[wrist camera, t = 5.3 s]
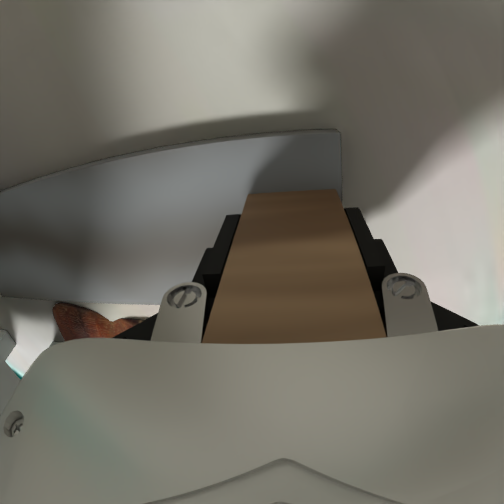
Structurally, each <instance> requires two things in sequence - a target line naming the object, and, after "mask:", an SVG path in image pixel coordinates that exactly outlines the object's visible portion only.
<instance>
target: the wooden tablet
mask: <svg viewBox="0 0 504 504" xmlns="http://www.w3.org/2000/svg"><path fill="white" fill-rule="evenodd" d="M53 315H54V318H55V320H56V323H57V325H58V327H59V330H60V332H61V334H62V336H63V338H64V340H65V341H69V340H74V339H82V338H113V337H114V336H116V335H118V334H120V333H122V332H123V331H125V330H127V329H129V328H131V327H133V326H135V325H137V324H138V323H140V322H142V321H143V320H135V319H118V320H116V321H114V322H112V321H109V320H108V319H106V318H105V317H103V316H102V315H100V314H98V313H97V312H94V311H92V310H90V309H87V308H84V307H80V306H77V305H73V304H68V303H60V302H59V303H57V304H55V306H54V307H53Z"/></svg>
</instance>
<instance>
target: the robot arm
mask: <svg viewBox="0 0 504 504" xmlns="http://www.w3.org/2000/svg"><path fill="white" fill-rule="evenodd" d="M344 211H345V213H346V216H347V218H348V221H349V224H350V226H351V229H352V232H353V234H354V237H355V240H356V243H357V245H358V248H359V251H360V254H361V257H362V259H363V262H364V265H365V268H366V271H367V274H368V277H369V280H370V283H371V286H372V290H373V293H374V296H375V299H376V302H377V306H378V309H379V312H380V316H381V319H382V323H383V326H384V330H385V333H386V337H385V338H374V339H362V340H349V341H334V342H315V343H286V344H211V343H202V340H203V337H204V334H205V330H206V327H207V324H208V320H209V317H210V314H211V310H212V307H213V304H214V301H215V297H216V294H217V291H218V287H219V284H220V281H221V278H222V274H223V271H224V268H225V265H226V262H227V258H228V255H229V252H230V249H231V246H232V242H233V239H234V236H235V233H236V230H237V227H238V224H239V220H240V217H241V214H233V215H226V217H225V220H224V222H223V224H222V227H221V229H220V232H219V234H218V236H217V239H216V241H215V244H214V246H213V248H207V249H206V250H205V252H204V254H203V257H202V259H201V261H200V264H199V266H198V268H197V271H196V273H195V275H194V277H193V280H192V282H186V283H181V284H178V285H176V286H174V287H172V288H171V289H169V290H168V291H167V292H166V293H165V294H164V296H163V298H162V301H161V305H160V308H159V312H158V313H157V314H155V315H153V316H152V317H150V318H148V319H146V320H144V321H142V322H140V323H138V324H137V325H135V326H133V327H131V328H129V329H127V330H125V331H123V332H122V333H120V334H118V335H116V336H114V337H113V338H82V339H74V340H69V341H65V342H61V343H58V344H55V345H53V346H51V347H49V348H47V349H46V350H44V351H43V352H42V353H41V354H40V355H39V356H38V357H37V359H36V360H35V361H34V362H33V364H32V365H31V366H30V368H29V369H28V370H27V372H26V373H25V375H24V376H23V378H22V379H21V381H20V382H19V384H18V385H17V387H16V389H15V391H14V392H13V394H12V396H11V398H10V399H9V401H8V403H7V405H6V406H5V408H4V410H3V412H2V414H1V416H0V504H504V325H498V324H497V325H481V326H479V325H477V324H476V323H474V322H472V321H470V320H468V319H466V318H464V317H461V316H459V315H457V314H455V313H453V312H451V311H449V310H447V309H445V308H443V307H441V306H439V305H437V304H435V303H433V302H431V301H430V298H429V295H428V292H427V288H426V286H425V284H424V282H423V281H421V280H420V279H419V278H417V277H416V276H414V275H411V274H407V273H398V271H397V269H396V267H395V265H394V263H393V261H392V259H391V257H390V255H389V252H388V250H387V248H386V246H385V244H384V242H383V241H382V239H373V237H372V235H371V232H370V230H369V228H368V226H367V224H366V222H365V220H364V218H363V216H362V214H361V212H360V210H359V208H344Z"/></svg>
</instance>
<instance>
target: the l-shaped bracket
mask: <svg viewBox="0 0 504 504" xmlns="http://www.w3.org/2000/svg"><path fill="white" fill-rule="evenodd" d="M233 214H241V217H240V220H239V224H238V227H237V230H236V233H235V236H234V239H233V242H232V246H231V249H230V252H229V255H228V258H227V262H226V265H225V268H224V271H223V274H222V278H221V281H220V284H219V287H218V291H217V294H216V297H215V301H214V304H213V307H212V310H211V314H210V317H209V320H208V324H207V327H206V330H205V334H204V337H203V340H202V343H211V344H286V343H315V342H334V341H349V340H362V339H374V338H385V337H386V333H385V330H384V326H383V323H382V319H381V316H380V312H379V309H378V306H377V302H376V299H375V296H374V293H373V290H372V286H371V283H370V280H369V277H368V274H367V271H366V268H365V265H364V262H363V259H362V257H361V254H360V251H359V248H358V245H357V243H356V240H355V237H354V234H353V232H352V229H351V226H350V224H349V221H348V218H347V216H346V213H345V211H344V208H343V206H342V163H341V137H340V132H339V131H338V130H337V129H321V130H300V131H284V132H271V133H260V134H249V135H240V136H231V137H223V138H216V139H208V140H201V141H195V142H188V143H182V144H176V145H170V146H165V147H159V148H154V149H149V150H144V151H139V152H134V153H130V154H125V155H121V156H116V157H112V158H108V159H104V160H100V161H96V162H92V163H88V164H84V165H80V166H77V167H73V168H70V169H66V170H63V171H59V172H56V173H53V174H49V175H46V176H43V177H40V178H37V179H34V180H31V181H28V182H25V183H22V184H19V185H16V186H13V187H10V188H8V189H5V190H2V191H0V293H1V295H2V296H4V297H15V298H27V299H40V300H54V301H70V302H89V303H112V304H146V305H161V301H162V298H163V296H164V294H165V293H166V292H167V291H168V290H169V289H171V288H172V287H174V286H176V285H178V284H181V283H186V282H192V280H193V277H194V275H195V273H196V271H197V268H198V266H199V264H200V261H201V259H202V257H203V254H204V252H205V250H206V249H207V248H213V246H214V244H215V241H216V239H217V236H218V234H219V232H220V229H221V227H222V224H223V222H224V220H225V217H226V215H233Z"/></svg>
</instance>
